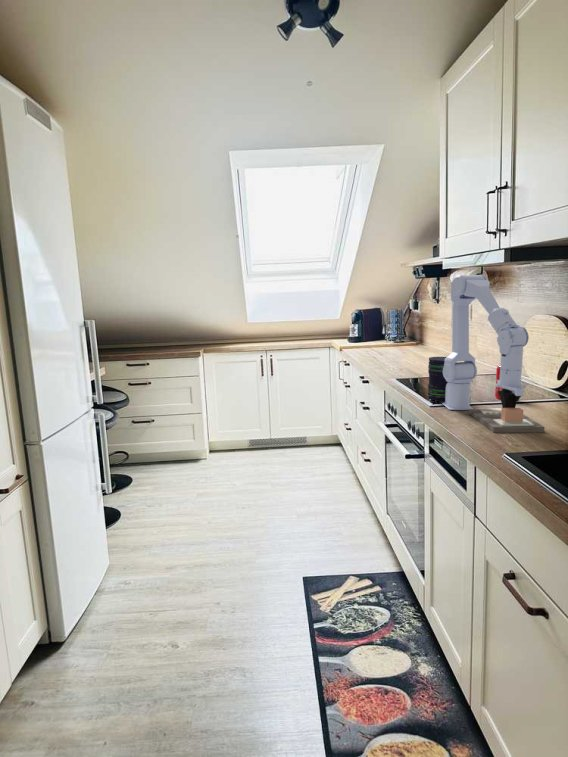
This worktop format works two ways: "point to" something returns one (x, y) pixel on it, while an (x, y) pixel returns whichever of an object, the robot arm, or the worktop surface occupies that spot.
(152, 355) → the worktop surface
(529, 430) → the ticket board
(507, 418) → the stub
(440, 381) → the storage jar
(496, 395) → the beverage can
